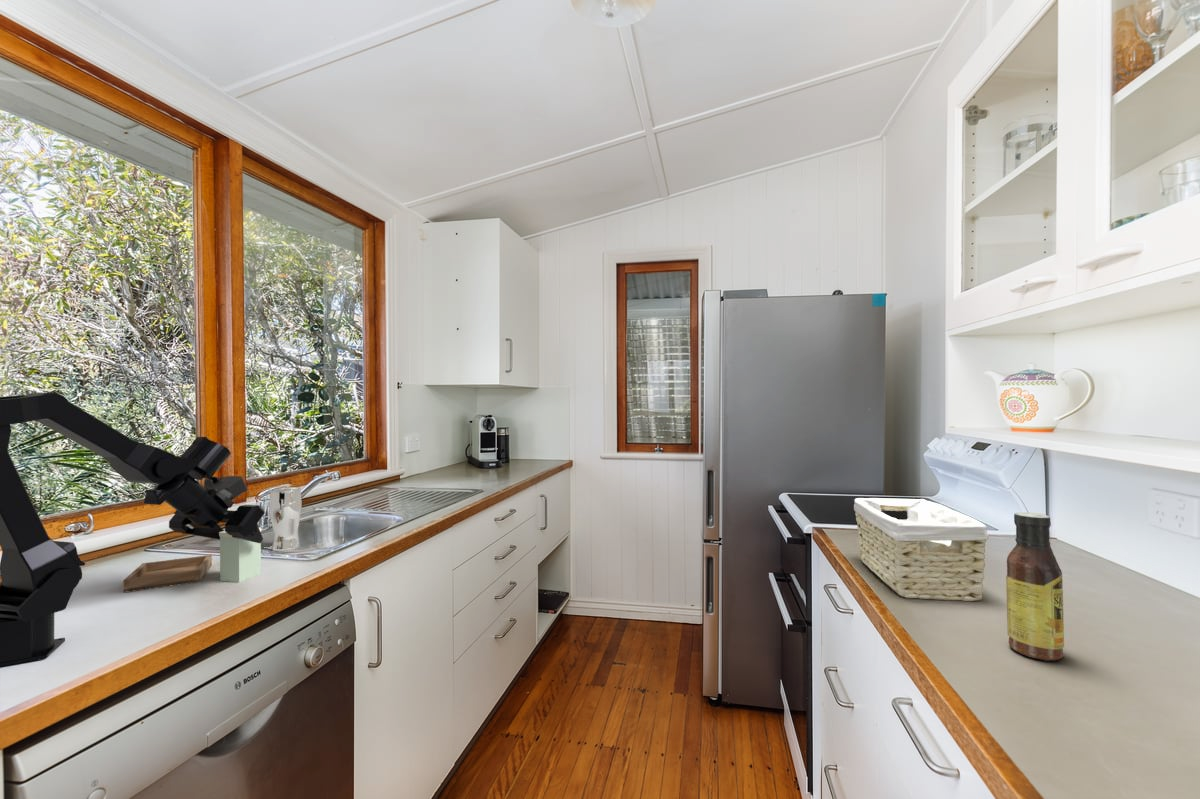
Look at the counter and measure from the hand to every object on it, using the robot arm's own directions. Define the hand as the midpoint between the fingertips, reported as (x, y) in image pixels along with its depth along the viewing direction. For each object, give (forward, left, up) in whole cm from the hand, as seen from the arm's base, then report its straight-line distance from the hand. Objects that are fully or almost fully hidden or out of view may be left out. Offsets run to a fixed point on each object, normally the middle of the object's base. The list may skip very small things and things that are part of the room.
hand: (243, 539), depth 108 cm
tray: (+6, +13, -8) cm, 17 cm away
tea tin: (-1, 0, -8) cm, 8 cm away
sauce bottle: (-98, -106, -8) cm, 144 cm away
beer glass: (+20, -7, -8) cm, 23 cm away
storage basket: (-72, -120, -8) cm, 141 cm away
